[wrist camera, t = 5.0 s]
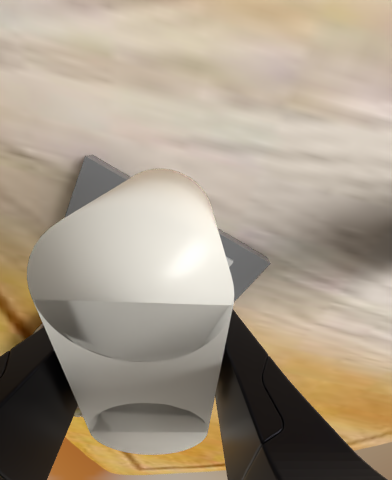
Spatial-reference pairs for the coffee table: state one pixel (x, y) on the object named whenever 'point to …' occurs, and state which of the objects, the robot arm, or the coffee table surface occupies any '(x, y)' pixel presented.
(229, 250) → the charging dock
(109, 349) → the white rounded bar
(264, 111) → the coffee table surface
